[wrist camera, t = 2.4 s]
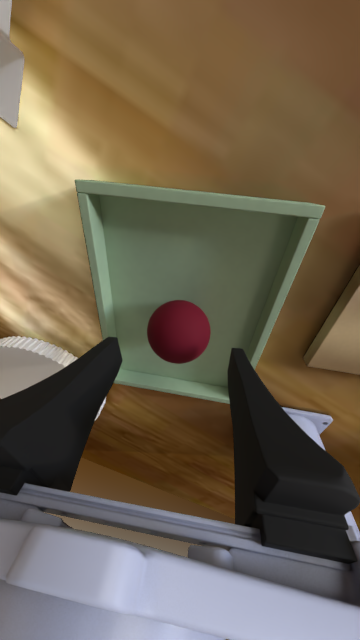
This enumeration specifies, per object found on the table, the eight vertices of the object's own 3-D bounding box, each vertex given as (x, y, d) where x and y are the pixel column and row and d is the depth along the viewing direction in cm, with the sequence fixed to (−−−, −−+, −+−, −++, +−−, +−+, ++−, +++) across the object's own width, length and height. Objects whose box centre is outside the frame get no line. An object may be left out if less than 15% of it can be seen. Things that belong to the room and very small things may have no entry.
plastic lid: (76, 419, 30) (66, 436, 28) (-16, 365, 26) (-36, 381, 24) (132, 386, 24) (124, 405, 22) (21, 306, 19) (-2, 321, 17)
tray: (237, 388, 21) (239, 405, 20) (117, 368, 22) (110, 382, 21) (310, 203, 12) (326, 205, 10) (92, 180, 12) (73, 179, 11)
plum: (206, 340, 18) (203, 382, 14) (155, 332, 18) (139, 371, 14) (216, 293, 15) (216, 330, 11) (156, 285, 15) (136, 318, 12)
